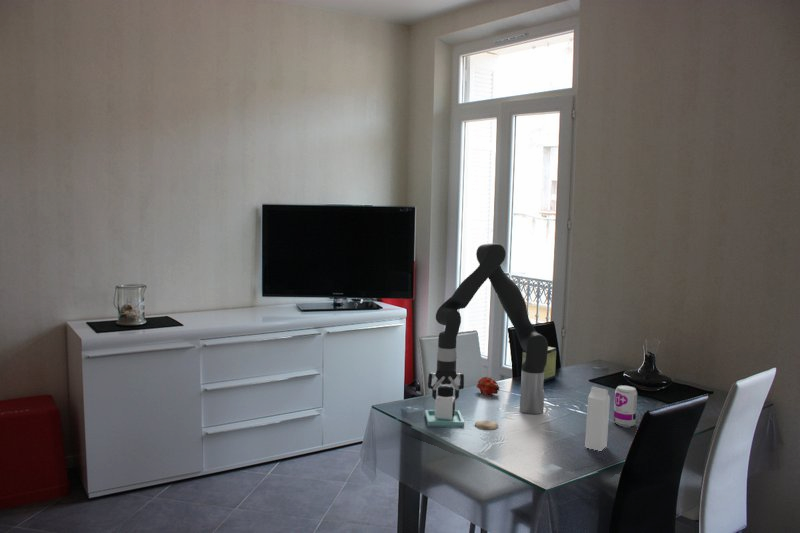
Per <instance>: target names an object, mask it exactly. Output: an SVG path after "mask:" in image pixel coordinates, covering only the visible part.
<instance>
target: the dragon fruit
mask: <svg viewBox="0 0 800 533" xmlns="http://www.w3.org/2000/svg"><path fill="white" fill-rule="evenodd" d="M476 388H478V390H479V392H480V394H481V395H482V394H485V395H486V396H487V397H493V396H494V395H493V394H495V395H497V394H498V392H499V391H500V386H499V384H498V382H497V381H496V380H493V378H492V377H488V376H484V377H481V378H479V380H478V382H477V384H476Z"/></svg>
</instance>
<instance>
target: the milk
mask: <svg viewBox="0 0 800 533" xmlns="http://www.w3.org/2000/svg"><path fill="white" fill-rule="evenodd" d="M608 392H609V390H608V389H605V388H602V387H601V388H600V387H596V386H591V389H590V393H589V394H588V397H587V410H586V423H585V424H586V425H585V438H584V439H585V440H584V441H585V442H584V448H585V447H586V448H585V449H587V448H589V449H588V450H591V449H594V450H593V451H595V450H598V451H597V452H599V451H602V450H603V449H604V448H605V447H606V448H607V447H608V446H607V445H608V436H609V434H608V432H609V418H610V404H611V403H610V401H611V396H610V395H609V393H608ZM606 448H605V449H606ZM605 449H604V450H605ZM604 450H603V451H604ZM603 451H602V452H603Z"/></svg>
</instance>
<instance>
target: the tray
mask: <svg viewBox="0 0 800 533" xmlns="http://www.w3.org/2000/svg"><path fill="white" fill-rule="evenodd" d="M424 416H425V419H426V424H427V427H429V428H431V427H433V428H435V427H436V428H465V420H464V418H463V415H462V413H461V410H459V409H457V410H456V409H455V415H454V417H453V419H452V420H450V419H439V418H435V409H424Z"/></svg>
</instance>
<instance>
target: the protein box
mask: <svg viewBox="0 0 800 533" xmlns="http://www.w3.org/2000/svg"><path fill="white" fill-rule="evenodd" d="M556 360H557V347H554V346H549V345H548V353H547V363H546V366H545V368H544V383H545V382H548V381H550V379H551V380H553V378H554V379H555V378H556V363H557V362H556ZM525 361H526V351H525V350H524V349H523V348H522V362H521V364H522V363H523V362H525Z"/></svg>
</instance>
